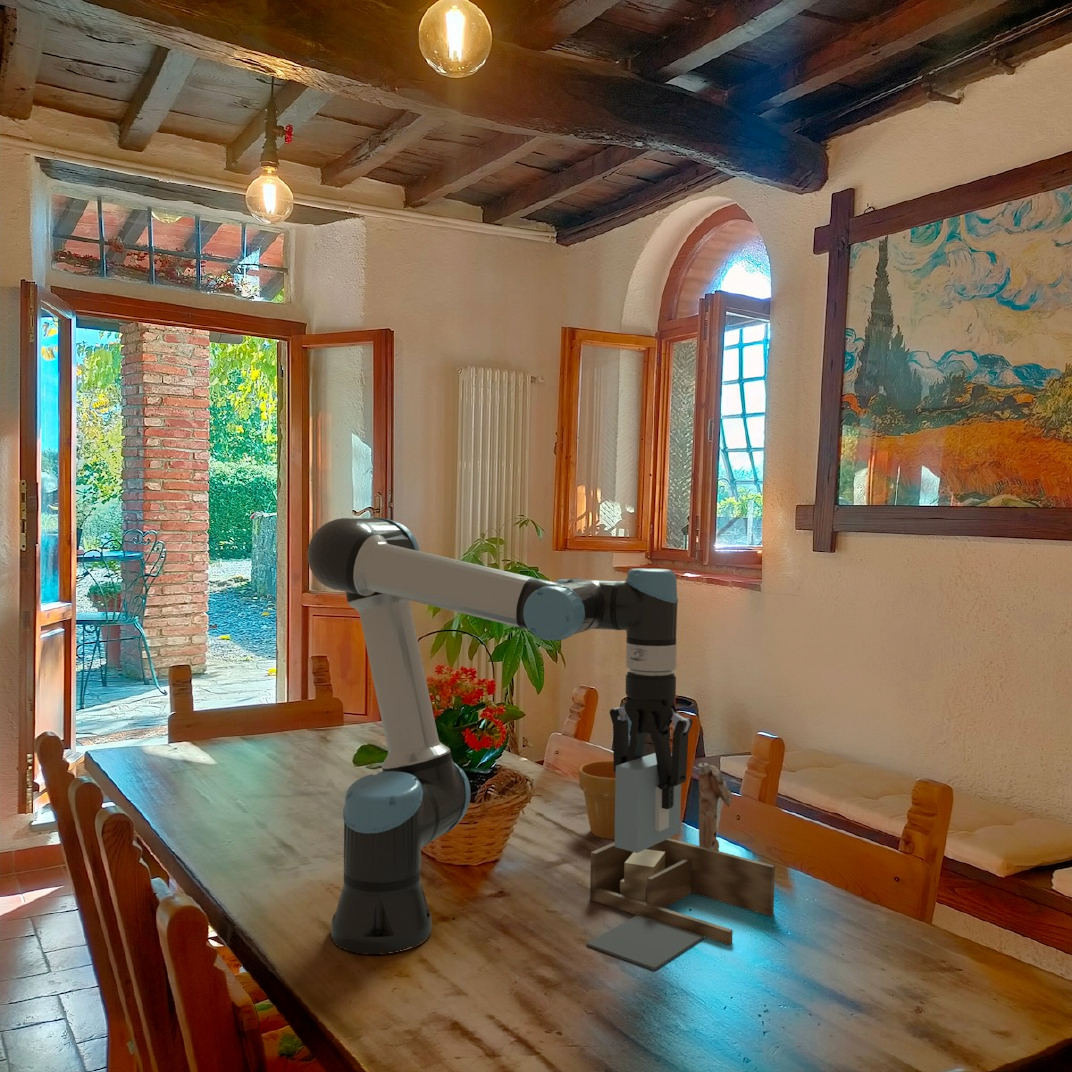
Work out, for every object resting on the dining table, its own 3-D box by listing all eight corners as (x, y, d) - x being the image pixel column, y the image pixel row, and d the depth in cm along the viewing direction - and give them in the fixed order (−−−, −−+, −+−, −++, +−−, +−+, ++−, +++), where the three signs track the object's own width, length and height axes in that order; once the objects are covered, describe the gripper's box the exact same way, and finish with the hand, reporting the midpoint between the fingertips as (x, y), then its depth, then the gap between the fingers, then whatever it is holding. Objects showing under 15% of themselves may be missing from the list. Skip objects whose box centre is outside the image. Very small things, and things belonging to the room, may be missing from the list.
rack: (590, 899, 163) (590, 852, 162) (639, 874, 174) (640, 830, 174) (729, 945, 146) (730, 892, 146) (773, 914, 158) (774, 865, 157)
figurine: (742, 884, 170) (744, 771, 170) (695, 880, 172) (697, 768, 171) (742, 863, 181) (744, 757, 180) (697, 860, 182) (699, 754, 182)
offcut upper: (624, 883, 162) (624, 862, 162) (636, 867, 169) (637, 847, 169) (653, 888, 160) (653, 867, 160) (664, 872, 167) (665, 851, 167)
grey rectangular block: (614, 846, 143) (615, 765, 143) (658, 827, 152) (659, 751, 152) (637, 852, 140) (638, 770, 140) (680, 832, 150) (681, 755, 149)
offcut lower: (619, 901, 163) (620, 880, 163) (644, 887, 169) (644, 867, 169) (645, 909, 160) (645, 888, 160) (669, 894, 166) (669, 874, 166)
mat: (586, 945, 145) (586, 943, 145) (638, 916, 156) (638, 914, 156) (654, 970, 137) (654, 967, 137) (704, 938, 148) (704, 935, 148)
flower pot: (647, 823, 204) (648, 762, 203) (648, 846, 190) (649, 780, 189) (580, 820, 205) (581, 759, 205) (576, 842, 191) (577, 777, 191)
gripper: (590, 667, 148) (588, 819, 149) (687, 680, 137) (684, 844, 138) (618, 662, 154) (616, 808, 155) (713, 674, 143) (710, 831, 144)
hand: (648, 825), depth 146 cm, fingers closed on grey rectangular block, 4 cm apart
